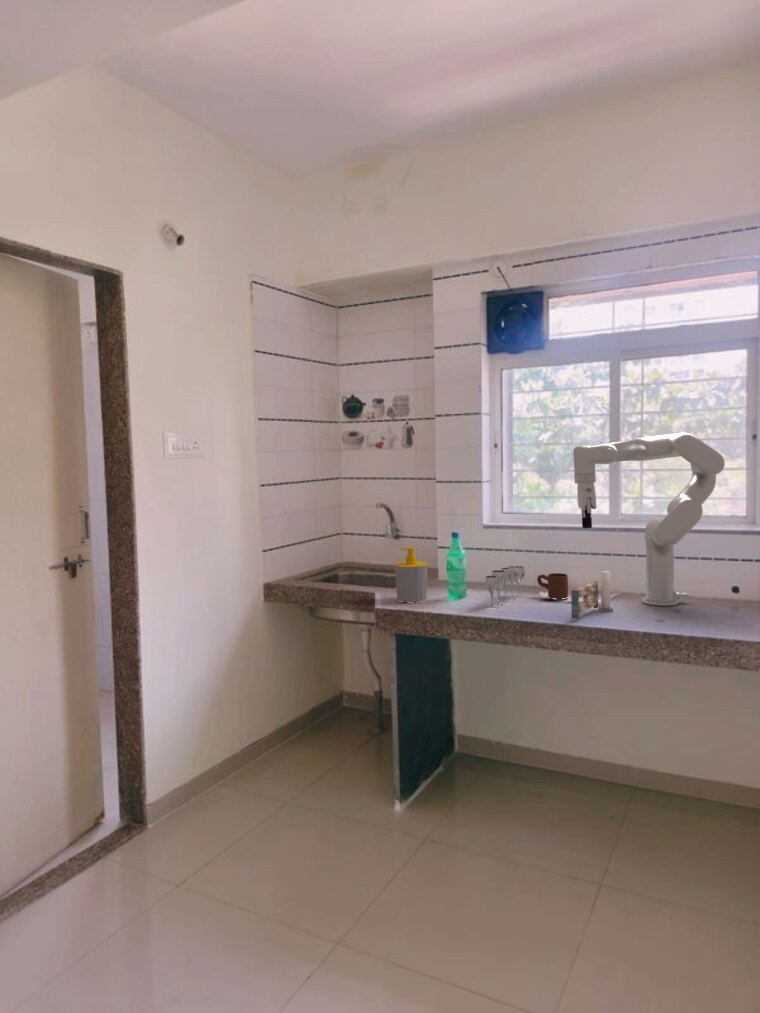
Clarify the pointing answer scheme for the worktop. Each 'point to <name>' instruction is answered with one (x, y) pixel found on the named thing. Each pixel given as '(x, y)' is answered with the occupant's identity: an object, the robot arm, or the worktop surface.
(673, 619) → the worktop surface
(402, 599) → the soap bottle
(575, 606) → the gate
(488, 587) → the goblet set
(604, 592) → the gate post
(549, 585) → the mug
